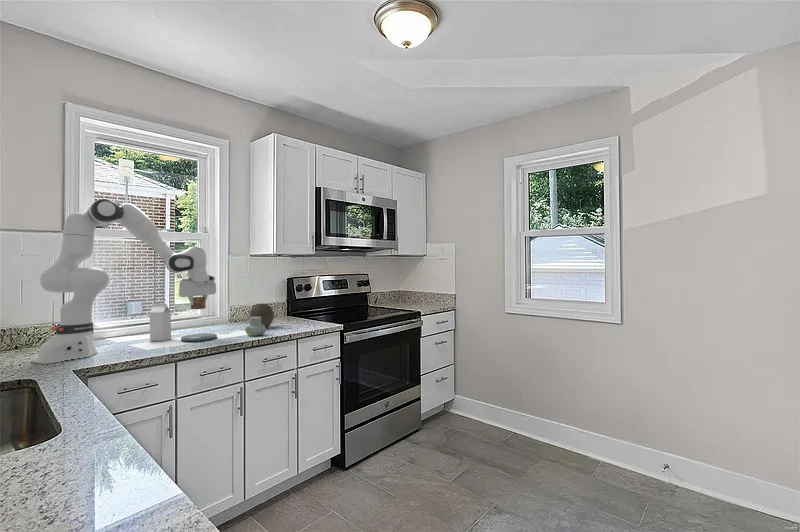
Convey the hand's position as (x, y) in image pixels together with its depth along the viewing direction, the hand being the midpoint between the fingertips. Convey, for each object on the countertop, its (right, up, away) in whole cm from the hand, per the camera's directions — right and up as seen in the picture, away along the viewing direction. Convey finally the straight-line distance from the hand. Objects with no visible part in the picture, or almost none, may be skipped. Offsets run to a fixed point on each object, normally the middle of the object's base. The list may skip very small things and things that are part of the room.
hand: (198, 304), depth 223 cm
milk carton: (-20, -19, 0) cm, 27 cm away
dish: (0, -18, 0) cm, 18 cm away
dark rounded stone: (+23, -18, +34) cm, 44 cm away
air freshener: (+27, -18, +9) cm, 34 cm away
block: (0, -2, 0) cm, 2 cm away
